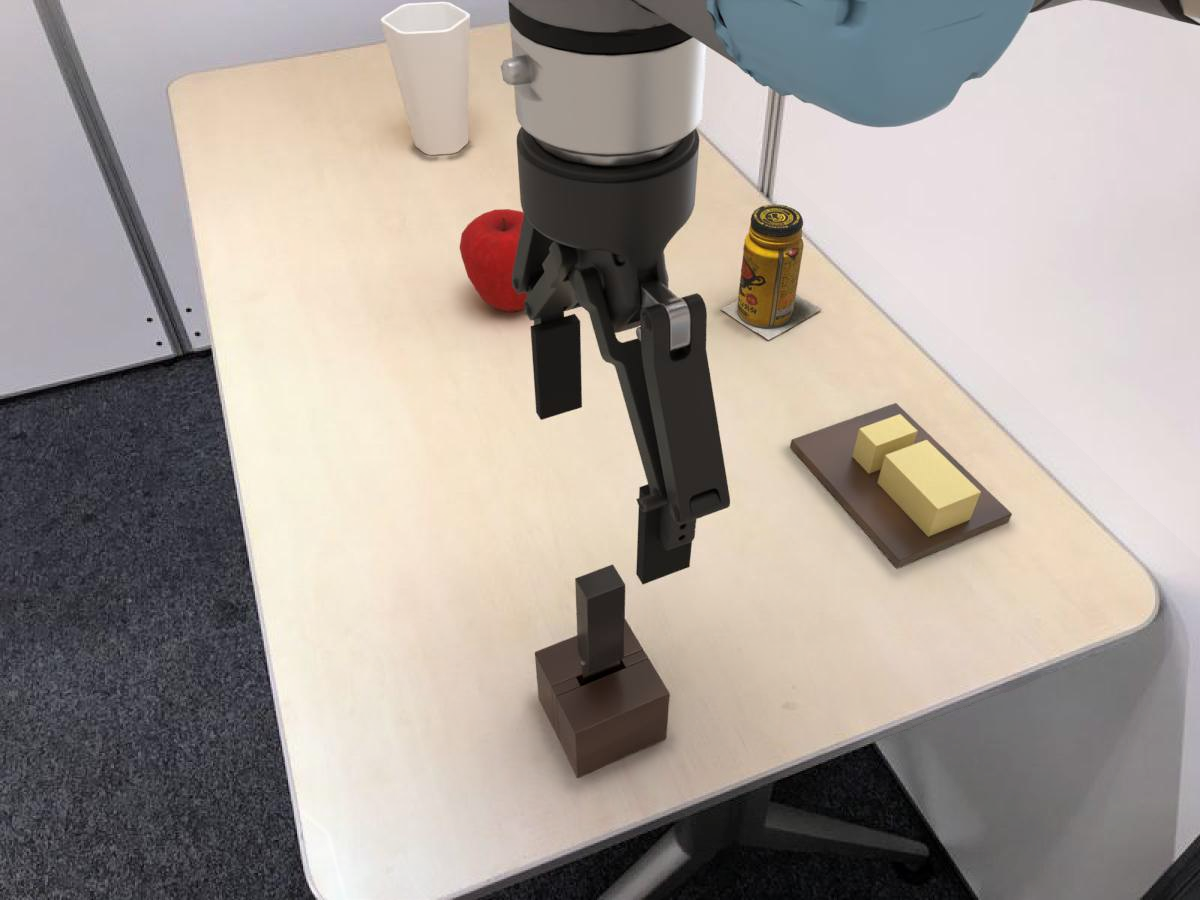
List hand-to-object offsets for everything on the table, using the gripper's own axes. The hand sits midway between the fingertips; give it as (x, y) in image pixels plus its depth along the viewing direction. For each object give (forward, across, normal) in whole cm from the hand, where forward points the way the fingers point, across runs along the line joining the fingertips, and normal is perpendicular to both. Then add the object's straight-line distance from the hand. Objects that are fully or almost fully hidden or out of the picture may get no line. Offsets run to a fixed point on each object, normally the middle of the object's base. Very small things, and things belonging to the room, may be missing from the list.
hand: (606, 484), depth 54 cm
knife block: (+24, +1, -1) cm, 24 cm away
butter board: (+24, -10, +33) cm, 42 cm away
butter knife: (+24, +1, -1) cm, 24 cm away
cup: (+24, -90, +17) cm, 94 cm away
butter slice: (+23, -12, +33) cm, 42 cm away
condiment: (+24, -37, +37) cm, 57 cm away
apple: (+24, -50, +12) cm, 57 cm away
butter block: (+23, -6, +33) cm, 41 cm away
